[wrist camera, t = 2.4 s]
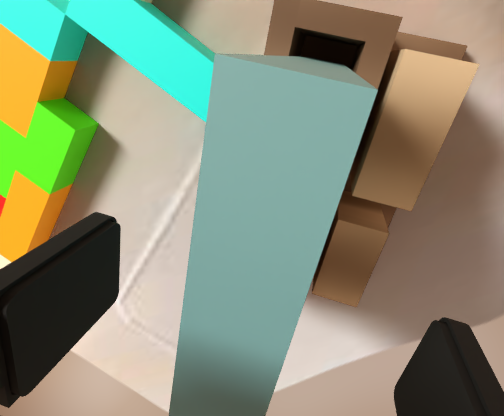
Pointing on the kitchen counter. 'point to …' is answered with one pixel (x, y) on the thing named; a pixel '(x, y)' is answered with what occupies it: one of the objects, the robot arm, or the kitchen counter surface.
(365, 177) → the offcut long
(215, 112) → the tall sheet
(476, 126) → the kitchen counter surface
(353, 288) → the offcut short
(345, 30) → the rack
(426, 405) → the robot arm
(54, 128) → the puzzle game
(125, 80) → the kitchen counter surface
